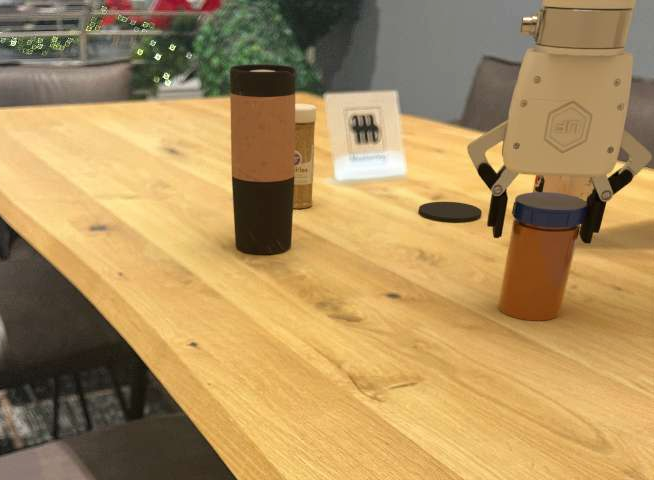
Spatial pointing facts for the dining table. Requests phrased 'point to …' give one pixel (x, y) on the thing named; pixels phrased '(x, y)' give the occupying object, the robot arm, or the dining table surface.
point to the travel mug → (263, 156)
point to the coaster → (450, 211)
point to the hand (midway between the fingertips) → (540, 236)
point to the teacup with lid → (564, 185)
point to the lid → (549, 209)
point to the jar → (537, 270)
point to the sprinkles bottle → (304, 154)
